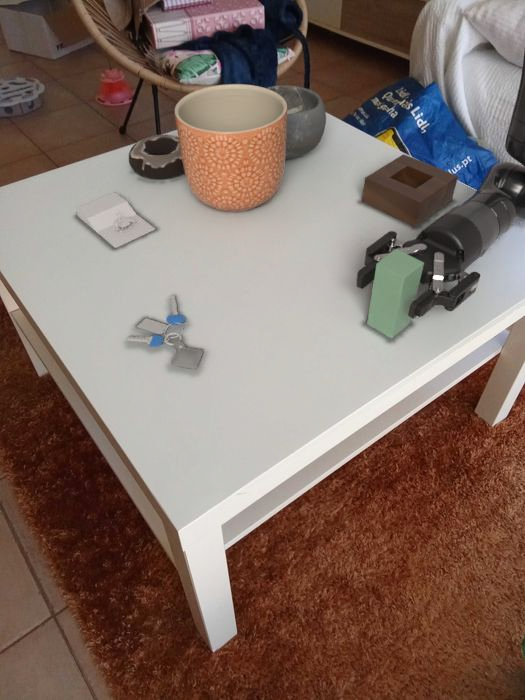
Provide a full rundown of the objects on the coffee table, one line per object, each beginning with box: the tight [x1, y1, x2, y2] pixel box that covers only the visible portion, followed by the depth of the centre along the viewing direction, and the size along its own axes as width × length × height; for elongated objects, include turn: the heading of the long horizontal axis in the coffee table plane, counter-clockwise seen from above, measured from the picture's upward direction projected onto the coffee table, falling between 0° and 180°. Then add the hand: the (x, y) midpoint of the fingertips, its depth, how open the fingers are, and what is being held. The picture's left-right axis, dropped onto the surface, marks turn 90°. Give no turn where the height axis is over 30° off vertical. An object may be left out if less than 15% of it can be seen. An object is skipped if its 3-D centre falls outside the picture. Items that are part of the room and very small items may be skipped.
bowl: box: [265, 84, 327, 160], centre depth 102 cm, size 15×15×10 cm
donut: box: [128, 134, 185, 180], centre depth 102 cm, size 12×12×4 cm
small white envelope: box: [75, 191, 156, 249], centre depth 90 cm, size 7×12×2 cm, turn 41°
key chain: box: [126, 294, 204, 370], centre depth 72 cm, size 14×8×1 cm, turn 24°
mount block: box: [361, 153, 459, 228], centre depth 92 cm, size 11×11×4 cm
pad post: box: [366, 249, 424, 339], centre depth 70 cm, size 4×4×10 cm
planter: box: [174, 83, 287, 213], centre depth 90 cm, size 17×17×15 cm
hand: (384, 296), depth 69 cm, fingers open, 7 cm apart
